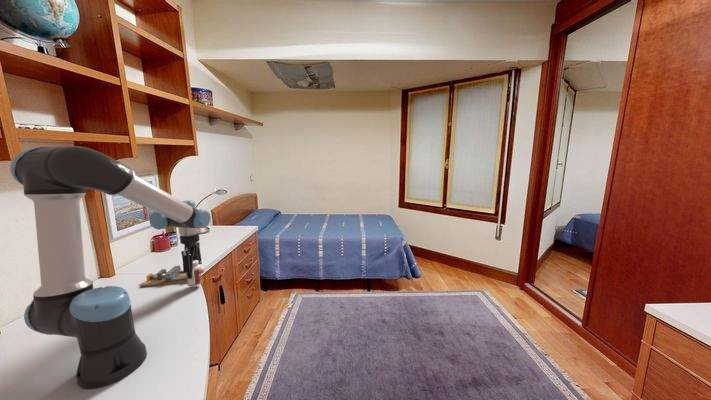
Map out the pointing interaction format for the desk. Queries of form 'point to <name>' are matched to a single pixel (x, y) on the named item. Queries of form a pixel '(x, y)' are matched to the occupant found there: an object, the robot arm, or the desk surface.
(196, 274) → the pill bottle
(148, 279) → the pin
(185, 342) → the desk surface
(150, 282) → the mount
